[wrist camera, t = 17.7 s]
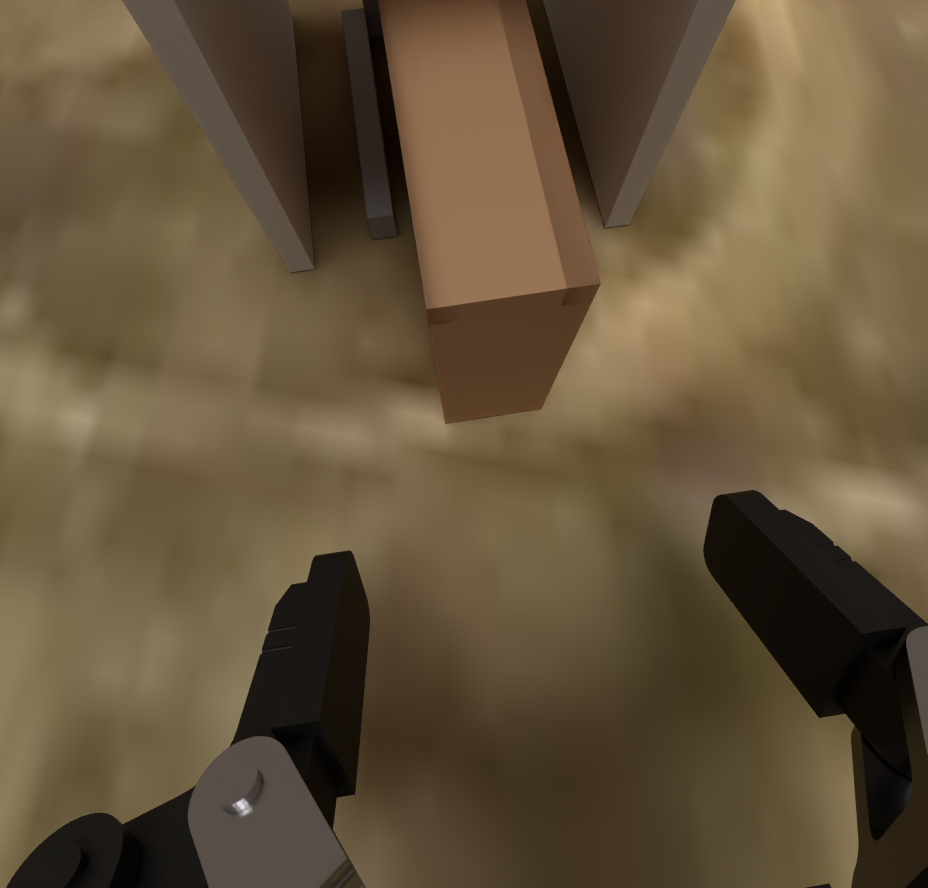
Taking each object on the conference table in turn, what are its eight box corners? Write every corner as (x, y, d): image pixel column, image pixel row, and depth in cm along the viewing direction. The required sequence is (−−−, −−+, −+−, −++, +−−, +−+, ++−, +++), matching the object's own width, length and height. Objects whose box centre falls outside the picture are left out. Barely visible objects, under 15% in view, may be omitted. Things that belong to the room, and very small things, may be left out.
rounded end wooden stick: (387, 56, 22) (342, -228, 14) (464, 46, 22) (461, -242, 14) (445, 423, 17) (425, 309, 9) (540, 408, 17) (600, 283, 9)
